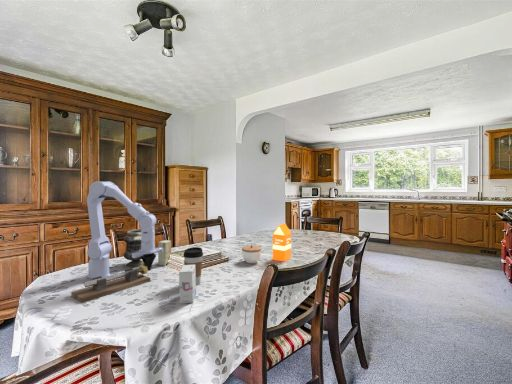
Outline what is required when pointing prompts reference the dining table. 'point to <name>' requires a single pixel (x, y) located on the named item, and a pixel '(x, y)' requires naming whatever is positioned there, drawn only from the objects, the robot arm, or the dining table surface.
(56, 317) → the dining table surface
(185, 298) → the ink box
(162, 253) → the skincare box
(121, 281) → the shaft frame
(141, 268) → the shaft
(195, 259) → the coffee cup
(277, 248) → the orange juice
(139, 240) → the apothecary jar
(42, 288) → the dining table surface
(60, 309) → the dining table surface
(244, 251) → the lidded jar
